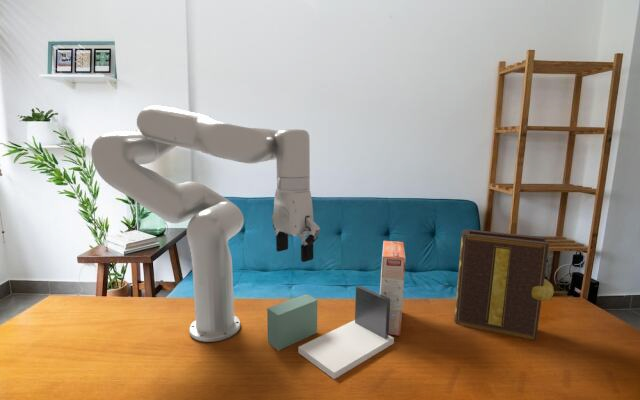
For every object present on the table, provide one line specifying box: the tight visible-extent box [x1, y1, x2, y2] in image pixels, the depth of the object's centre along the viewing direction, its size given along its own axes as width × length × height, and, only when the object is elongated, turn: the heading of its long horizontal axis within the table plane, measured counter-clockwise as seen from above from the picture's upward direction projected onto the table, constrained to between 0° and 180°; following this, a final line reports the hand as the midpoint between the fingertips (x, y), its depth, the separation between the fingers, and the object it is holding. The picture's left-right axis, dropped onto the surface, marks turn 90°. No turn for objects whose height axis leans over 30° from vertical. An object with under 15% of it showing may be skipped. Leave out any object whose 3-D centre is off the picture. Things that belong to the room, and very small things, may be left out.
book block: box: [266, 293, 318, 351], centre depth 89 cm, size 4×12×9 cm, turn 131°
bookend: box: [354, 285, 390, 339], centre depth 90 cm, size 10×1×10 cm, turn 41°
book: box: [453, 229, 555, 341], centre depth 93 cm, size 22×8×25 cm, turn 68°
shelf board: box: [297, 319, 395, 380], centre depth 85 cm, size 12×20×2 cm, turn 131°
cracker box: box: [379, 240, 406, 337], centre depth 96 cm, size 14×6×21 cm, turn 169°
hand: (294, 255), depth 86 cm, fingers open, 9 cm apart
